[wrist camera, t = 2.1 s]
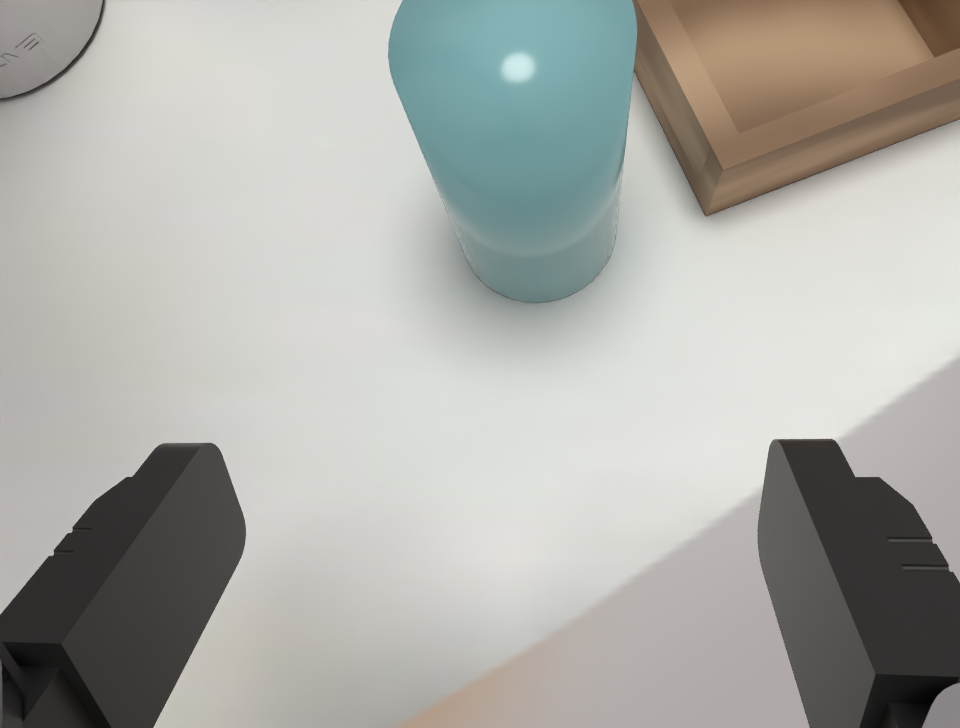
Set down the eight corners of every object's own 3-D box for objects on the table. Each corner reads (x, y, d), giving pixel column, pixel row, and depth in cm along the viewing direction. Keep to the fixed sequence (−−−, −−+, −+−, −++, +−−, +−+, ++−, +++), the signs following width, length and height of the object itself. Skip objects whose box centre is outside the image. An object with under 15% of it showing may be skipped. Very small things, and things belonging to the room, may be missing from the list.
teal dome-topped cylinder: (441, 192, 29) (358, -11, 18) (581, 137, 28) (580, -102, 18) (491, 325, 27) (432, 188, 16) (640, 268, 27) (678, 91, 16)
